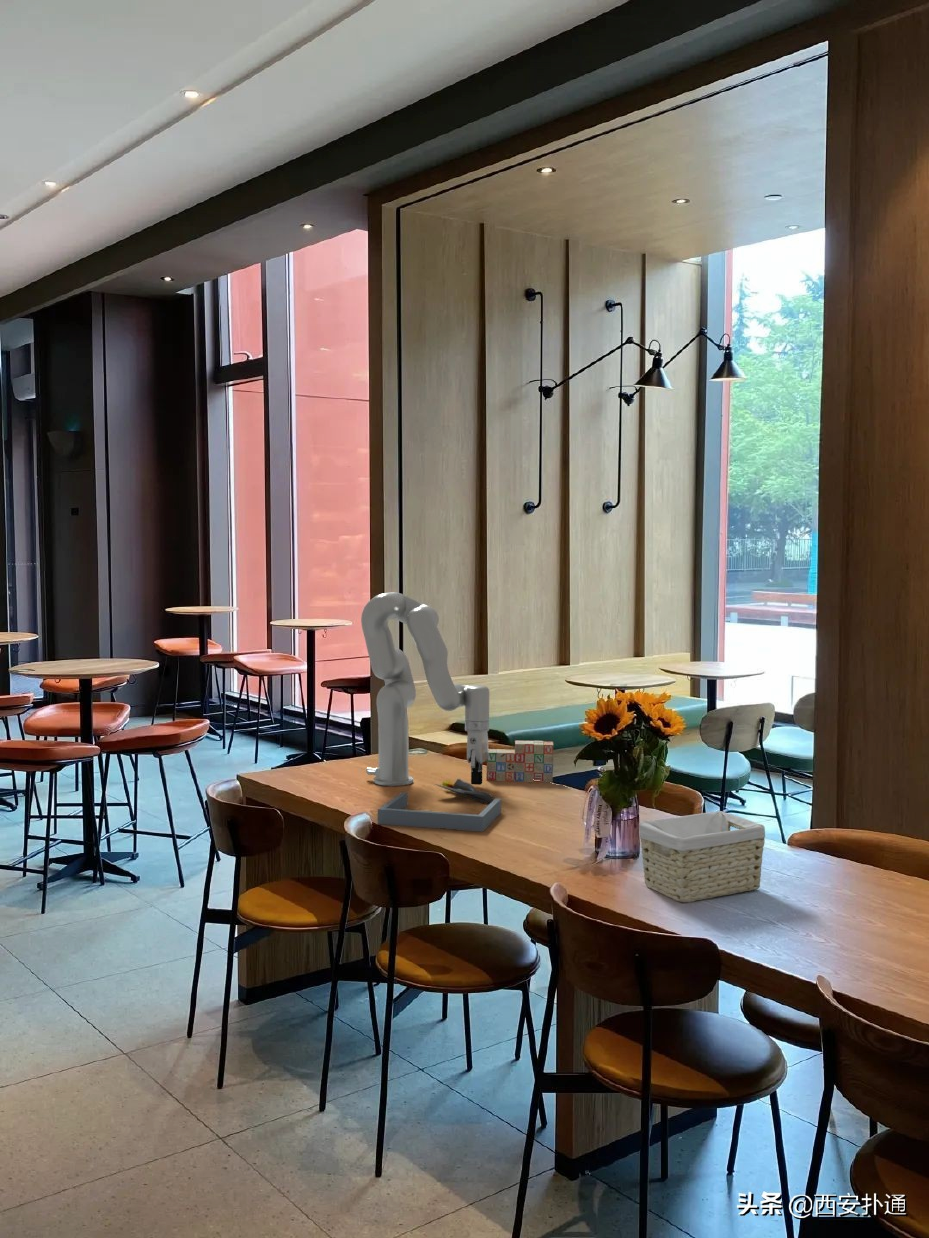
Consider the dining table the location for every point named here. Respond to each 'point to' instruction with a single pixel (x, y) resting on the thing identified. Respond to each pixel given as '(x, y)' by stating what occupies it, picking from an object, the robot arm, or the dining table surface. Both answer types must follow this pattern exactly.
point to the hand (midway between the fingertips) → (476, 783)
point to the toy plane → (467, 791)
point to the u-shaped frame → (436, 816)
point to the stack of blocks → (521, 762)
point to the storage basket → (701, 855)
